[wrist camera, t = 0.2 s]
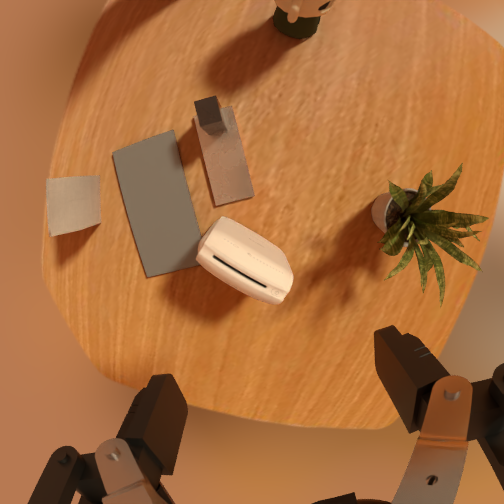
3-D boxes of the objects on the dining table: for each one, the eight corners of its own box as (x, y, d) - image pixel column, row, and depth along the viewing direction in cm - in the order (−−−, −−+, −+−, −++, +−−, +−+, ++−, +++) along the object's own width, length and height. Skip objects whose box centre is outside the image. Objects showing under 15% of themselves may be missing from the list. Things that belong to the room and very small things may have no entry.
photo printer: (288, 251, 38) (304, 284, 26) (271, 277, 39) (278, 320, 27) (221, 210, 37) (205, 225, 25) (204, 238, 38) (182, 266, 26)
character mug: (308, 60, 32) (332, 14, 19) (257, 43, 31) (259, -9, 19) (329, 7, 29) (353, -43, 17) (282, -8, 29) (291, -62, 16)
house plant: (369, 288, 39) (423, 346, 24) (315, 211, 37) (358, 236, 21) (437, 228, 37) (511, 257, 21) (392, 149, 35) (467, 140, 19)
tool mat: (114, 152, 35) (112, 152, 34) (173, 130, 34) (172, 129, 34) (148, 275, 39) (147, 277, 39) (208, 261, 39) (207, 263, 38)
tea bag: (99, 175, 36) (58, 177, 26) (101, 222, 37) (61, 236, 28) (79, 177, 36) (37, 180, 26) (81, 222, 37) (40, 236, 28)
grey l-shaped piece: (194, 117, 34) (182, 105, 28) (232, 107, 34) (227, 92, 27) (216, 205, 37) (208, 211, 30) (254, 195, 37) (254, 199, 30)
